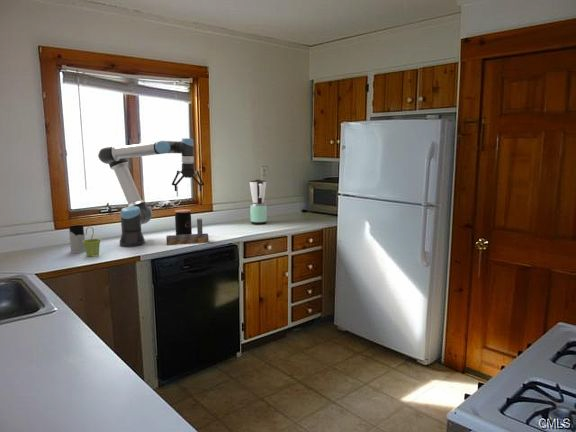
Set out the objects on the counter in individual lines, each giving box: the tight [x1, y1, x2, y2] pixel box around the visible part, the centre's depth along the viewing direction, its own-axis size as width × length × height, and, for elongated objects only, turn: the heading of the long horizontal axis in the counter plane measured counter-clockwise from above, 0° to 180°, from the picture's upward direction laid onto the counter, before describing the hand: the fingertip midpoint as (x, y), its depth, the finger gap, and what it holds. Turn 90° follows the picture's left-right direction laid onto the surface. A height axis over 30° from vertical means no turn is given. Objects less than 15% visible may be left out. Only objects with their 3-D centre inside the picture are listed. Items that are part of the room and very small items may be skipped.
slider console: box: [165, 232, 210, 246], centre depth 281 cm, size 26×10×4 cm, turn 104°
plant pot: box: [83, 238, 102, 258], centre depth 247 cm, size 9×9×9 cm
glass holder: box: [68, 224, 95, 254], centre depth 259 cm, size 9×14×15 cm, turn 138°
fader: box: [196, 218, 204, 235], centre depth 282 cm, size 3×5×11 cm, turn 14°
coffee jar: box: [174, 208, 193, 235], centre depth 299 cm, size 11×11×18 cm
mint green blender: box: [249, 179, 268, 226], centre depth 347 cm, size 19×13×35 cm
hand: (188, 196), depth 282 cm, fingers open, 13 cm apart
